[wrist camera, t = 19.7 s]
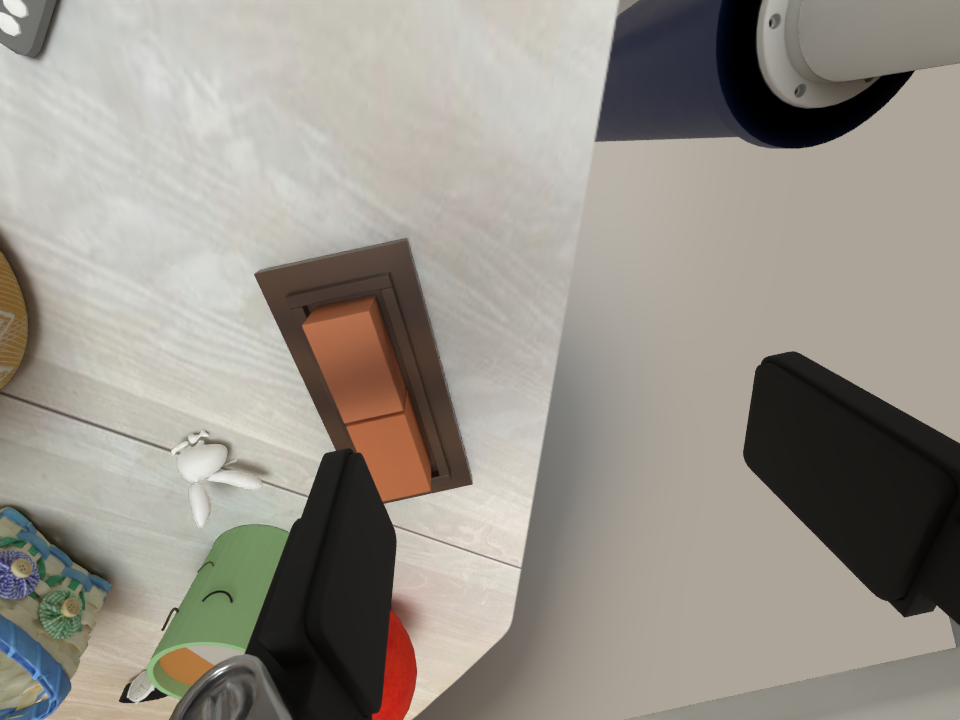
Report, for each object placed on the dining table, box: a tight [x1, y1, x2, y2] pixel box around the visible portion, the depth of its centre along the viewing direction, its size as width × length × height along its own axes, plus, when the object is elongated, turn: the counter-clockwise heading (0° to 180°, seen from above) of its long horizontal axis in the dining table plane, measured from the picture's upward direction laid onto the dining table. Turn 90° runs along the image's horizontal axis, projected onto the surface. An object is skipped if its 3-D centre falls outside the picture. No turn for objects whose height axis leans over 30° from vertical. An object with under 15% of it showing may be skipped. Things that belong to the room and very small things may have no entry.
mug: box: [146, 525, 289, 700], centre depth 42 cm, size 13×10×12 cm
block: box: [346, 390, 431, 501], centre depth 38 cm, size 9×5×4 cm, turn 11°
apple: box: [372, 610, 417, 720], centre depth 48 cm, size 12×12×13 cm
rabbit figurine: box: [171, 430, 263, 528], centre depth 39 cm, size 6×4×8 cm
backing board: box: [254, 238, 473, 504], centre depth 36 cm, size 26×12×5 cm, turn 11°
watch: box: [119, 671, 169, 705], centre depth 54 cm, size 8×5×4 cm, turn 106°
